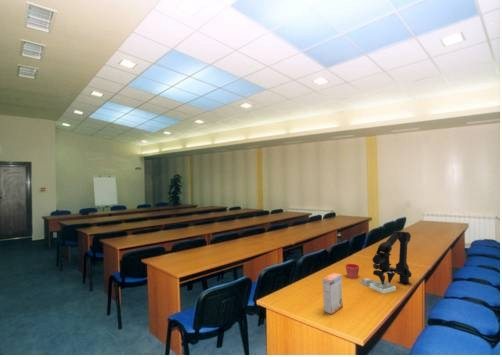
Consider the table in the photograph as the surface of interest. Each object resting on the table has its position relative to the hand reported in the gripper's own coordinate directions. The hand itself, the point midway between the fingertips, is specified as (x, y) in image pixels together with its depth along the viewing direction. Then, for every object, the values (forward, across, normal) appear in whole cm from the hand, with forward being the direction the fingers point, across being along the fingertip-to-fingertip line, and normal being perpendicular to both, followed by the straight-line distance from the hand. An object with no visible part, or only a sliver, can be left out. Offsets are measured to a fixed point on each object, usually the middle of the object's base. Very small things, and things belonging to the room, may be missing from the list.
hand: (386, 283), depth 195 cm
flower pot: (+5, +3, -30) cm, 31 cm away
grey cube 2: (+4, +6, -12) cm, 14 cm away
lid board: (+4, +1, -14) cm, 15 cm away
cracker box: (+5, +54, +8) cm, 55 cm away
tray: (+4, +2, -2) cm, 5 cm away
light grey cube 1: (+4, 0, 0) cm, 4 cm away
